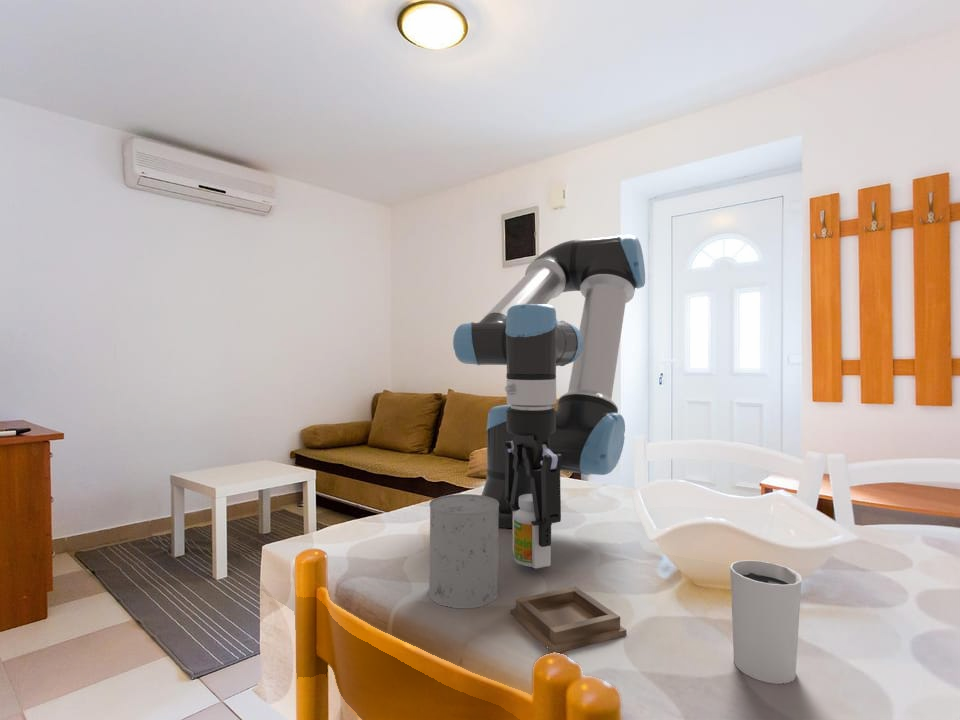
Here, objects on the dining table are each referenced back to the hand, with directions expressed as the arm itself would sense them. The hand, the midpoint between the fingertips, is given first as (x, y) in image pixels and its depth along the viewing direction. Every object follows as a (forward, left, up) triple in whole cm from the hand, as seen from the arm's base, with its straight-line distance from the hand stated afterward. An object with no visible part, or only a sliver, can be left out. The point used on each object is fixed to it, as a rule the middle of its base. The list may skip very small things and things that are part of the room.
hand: (531, 558), depth 82 cm
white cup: (-9, +32, -2) cm, 34 cm away
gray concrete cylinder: (+13, +3, -2) cm, 13 cm away
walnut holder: (+5, +16, -2) cm, 17 cm away
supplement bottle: (0, 0, -1) cm, 1 cm away
